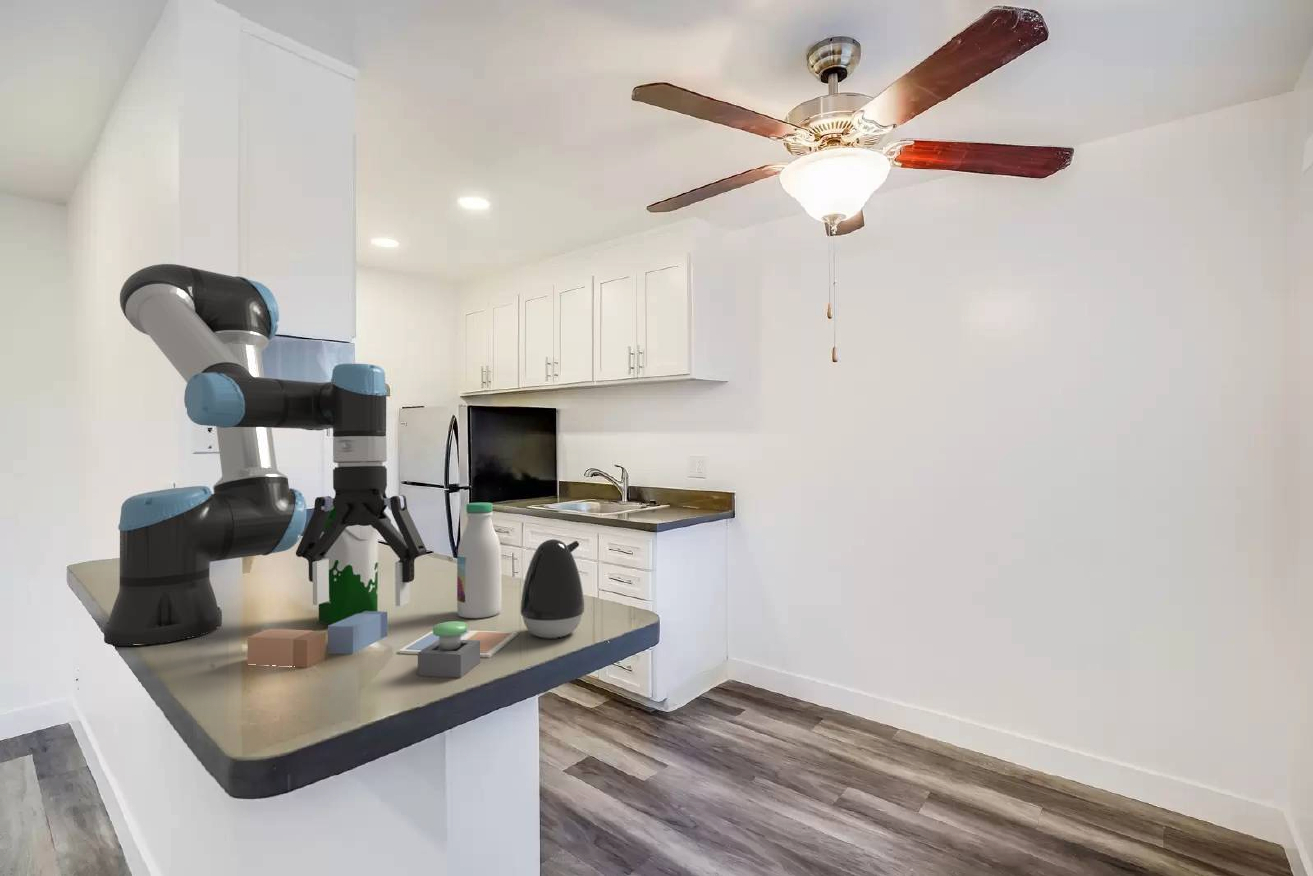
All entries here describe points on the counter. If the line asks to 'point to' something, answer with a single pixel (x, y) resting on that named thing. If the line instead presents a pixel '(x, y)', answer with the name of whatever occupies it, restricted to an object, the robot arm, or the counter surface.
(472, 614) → the milk bottle
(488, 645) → the picture board
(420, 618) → the counter surface
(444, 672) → the button housing
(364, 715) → the counter surface
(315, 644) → the block
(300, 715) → the counter surface
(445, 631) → the button
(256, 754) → the counter surface
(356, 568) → the milk carton
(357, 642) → the block
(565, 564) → the pump dispenser
